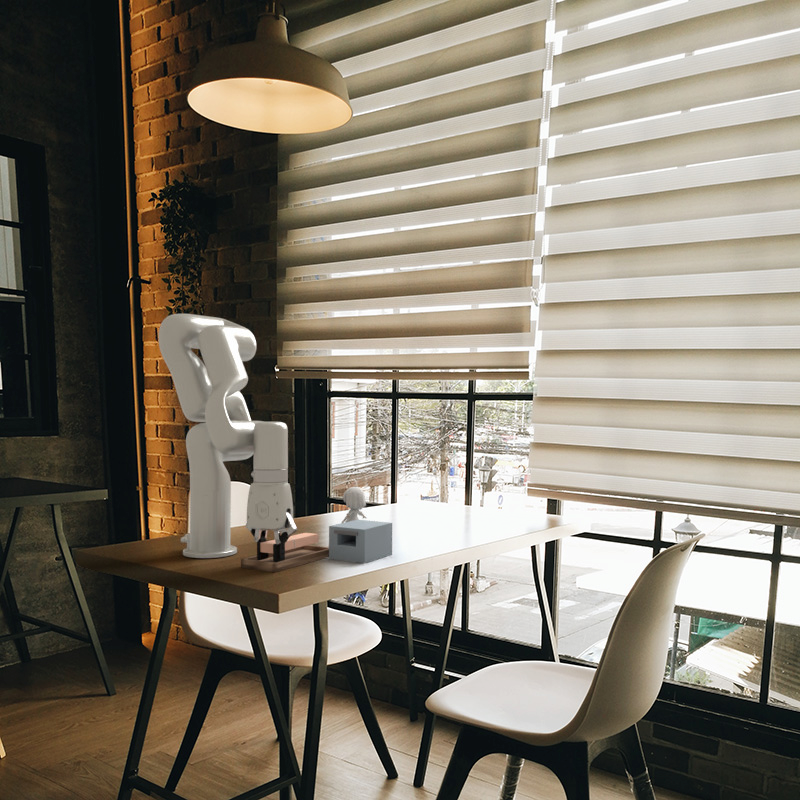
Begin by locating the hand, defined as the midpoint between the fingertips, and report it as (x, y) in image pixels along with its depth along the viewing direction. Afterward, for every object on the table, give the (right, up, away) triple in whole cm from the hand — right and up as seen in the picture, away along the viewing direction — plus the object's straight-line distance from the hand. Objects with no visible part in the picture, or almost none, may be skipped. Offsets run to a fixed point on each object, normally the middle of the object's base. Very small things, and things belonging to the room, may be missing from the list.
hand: (270, 559), depth 160 cm
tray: (+3, -2, +6) cm, 7 cm away
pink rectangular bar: (+3, +2, +6) cm, 7 cm away
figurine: (+17, -2, +27) cm, 32 cm away
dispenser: (+19, -2, +11) cm, 22 cm away
